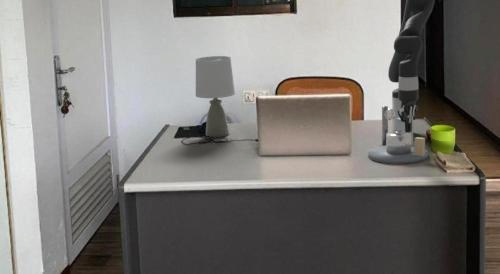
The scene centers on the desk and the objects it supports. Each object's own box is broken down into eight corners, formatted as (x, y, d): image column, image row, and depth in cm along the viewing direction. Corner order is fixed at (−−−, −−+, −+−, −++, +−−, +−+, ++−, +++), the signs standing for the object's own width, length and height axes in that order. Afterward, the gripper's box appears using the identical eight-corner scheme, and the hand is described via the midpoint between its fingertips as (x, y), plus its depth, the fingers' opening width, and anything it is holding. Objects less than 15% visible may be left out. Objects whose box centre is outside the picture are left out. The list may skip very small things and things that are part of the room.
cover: (393, 147, 318) (393, 128, 316) (415, 150, 312) (415, 130, 310) (381, 153, 310) (381, 132, 308) (403, 156, 304) (403, 135, 302)
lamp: (191, 138, 362) (186, 60, 353) (208, 129, 378) (204, 55, 370) (227, 140, 354) (222, 61, 346) (242, 131, 371) (239, 55, 363)
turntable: (387, 146, 328) (387, 126, 326) (438, 153, 312) (438, 132, 311) (356, 158, 311) (356, 137, 309) (409, 166, 295) (409, 144, 293)
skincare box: (396, 145, 330) (396, 118, 328) (402, 143, 333) (402, 116, 330) (406, 147, 326) (406, 120, 323) (413, 145, 328) (413, 118, 325)
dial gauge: (383, 145, 330) (382, 104, 326) (403, 148, 324) (403, 106, 319) (373, 149, 324) (372, 108, 320) (393, 152, 318) (393, 110, 313)
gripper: (408, 91, 285) (408, 136, 289) (425, 86, 295) (425, 129, 299) (390, 89, 290) (391, 134, 294) (408, 84, 300) (408, 127, 303)
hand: (408, 131), depth 296 cm, fingers closed
